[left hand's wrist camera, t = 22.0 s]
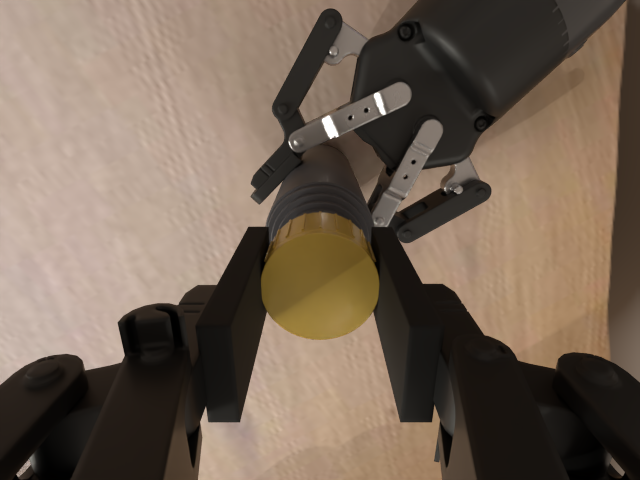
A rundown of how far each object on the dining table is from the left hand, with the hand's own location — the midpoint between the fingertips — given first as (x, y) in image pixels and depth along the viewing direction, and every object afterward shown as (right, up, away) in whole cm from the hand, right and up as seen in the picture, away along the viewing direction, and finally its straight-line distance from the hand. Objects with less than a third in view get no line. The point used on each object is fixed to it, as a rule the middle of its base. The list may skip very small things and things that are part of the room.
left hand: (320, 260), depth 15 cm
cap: (0, -1, -2) cm, 2 cm away
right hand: (-2, +2, +9) cm, 10 cm away
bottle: (0, +6, +15) cm, 16 cm away
